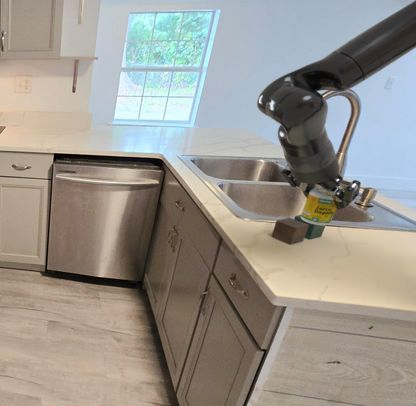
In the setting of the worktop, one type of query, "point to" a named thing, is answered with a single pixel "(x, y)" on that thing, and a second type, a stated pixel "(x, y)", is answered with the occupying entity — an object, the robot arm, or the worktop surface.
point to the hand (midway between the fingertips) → (326, 201)
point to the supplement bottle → (318, 208)
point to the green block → (311, 229)
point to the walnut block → (290, 230)
